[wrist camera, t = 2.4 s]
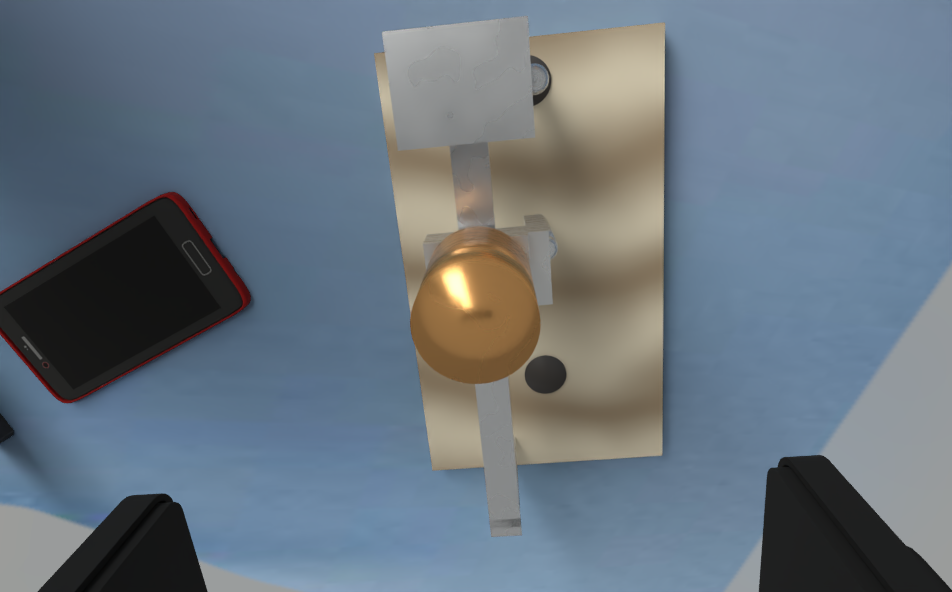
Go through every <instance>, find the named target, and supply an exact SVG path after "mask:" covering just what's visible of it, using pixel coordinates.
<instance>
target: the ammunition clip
mask: <svg viewBox="0 0 952 592" xmlns="http://www.w3.org/2000/svg"><path fill="white" fill-rule="evenodd" d="M13 435H14V430H13V429H12V427H11V426H10V425H9V424H8V422H7V421H6V420H5V419H4V417H3V416H2V415H1V414H0V443H2V442H3V441H5V440H6V439H8V438H10V437H11V436H13Z"/></svg>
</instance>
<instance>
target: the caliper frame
mask: <svg viewBox="0 0 952 592" xmlns="http://www.w3.org/2000/svg"><path fill="white" fill-rule="evenodd" d="M382 36H383V43H384V51H385V58H386V66H387V73H388V81H389V88H390V95H391V103H392V110H393V118H394V125H395V132H396V140H397V147H398V151H401V150H411V149H422V148H432V147H442V146H449V147H450V156H451V166H452V175H453V184H454V194H455V203H456V212H457V221H458V230H460V229H464V228H468V227H475V226H482V227H490V228H494V229H495V228H496V227H495V215H494V204H493V192H492V181H491V169H490V158H489V146H488V142H494V141H505V140H515V139H525V138H535V126H534V110H533V95H538V94H540V93H542V92H543V91H544V90H545V89H546V88H547V86H548V83H549V75H548V72H547V70H546V69H545V68H544V67H543V66H542V65H540V64H536V63H533V64H531V61H530V45H529V29H528V16H523V17H514V18H505V19H495V20H486V21H477V22H468V23H458V24H449V25H440V26H431V27H421V28H412V29H403V30H394V31H384V32H382ZM475 389H476V398H477V408H478V417H479V426H480V436H481V445H482V454H483V464H484V473H485V482H486V492H487V501H488V510H489V520H490V529H491V537H500V536H517V535H522V531H521V515H520V500H519V484H518V468H517V453H516V441H515V437H514V435H513V423H512V411H511V400H510V388H509V377H508V376H507V377H506V378H503V379H501V380H498V381H494V382H491V383H484V384H475Z"/></svg>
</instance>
